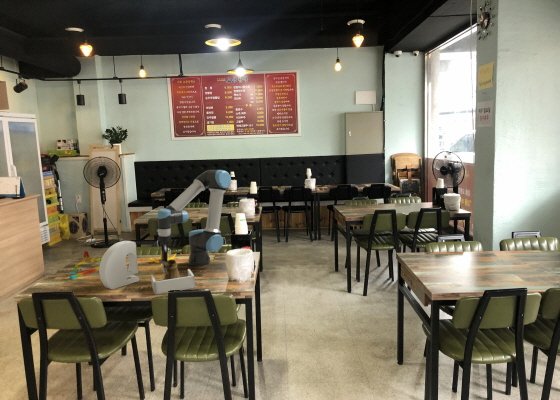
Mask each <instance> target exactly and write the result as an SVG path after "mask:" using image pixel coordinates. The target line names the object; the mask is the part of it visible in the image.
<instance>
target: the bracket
mask: <svg viewBox="0 0 560 400" xmlns="http://www.w3.org/2000/svg"><path fill="white" fill-rule="evenodd" d="M137 256H138V253H137V244H136V241H131V240H122V241H119V242H115V243H114V244H113V245H111V246H109V247H108V249H107V250H106V251H105V252H104V254H103V255H102V257H101V261H99V262H100V263H99V266H100V267H99V270H98V273H99V279H100V281H101V282H102V285H103V286H104V287H105V288H108V289H110V290H114V289H117V288H120V287H121V288H122V287H123V286H124V287H125V286H126V285H127V286H128V285H130V284H133V283H137V282H139V281H140V278H139V276H138V275H135V274H139V266H138V265H139V264H138V257H137ZM127 257H128V265H129V266H128V265H127ZM127 267H128V268H127Z"/></svg>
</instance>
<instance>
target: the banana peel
mask: <svg viewBox="0 0 560 400" xmlns="http://www.w3.org/2000/svg"><path fill="white" fill-rule="evenodd" d="M169 256H170V255H168V258H167V260H175V258H176V256H177V253H174V254H173V255H172V256H171V257H169ZM149 260H150V261H152V262H154V263H156V264H160V262H159V260H162V251H161V250H160V259H154V258H152V257H149Z"/></svg>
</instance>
